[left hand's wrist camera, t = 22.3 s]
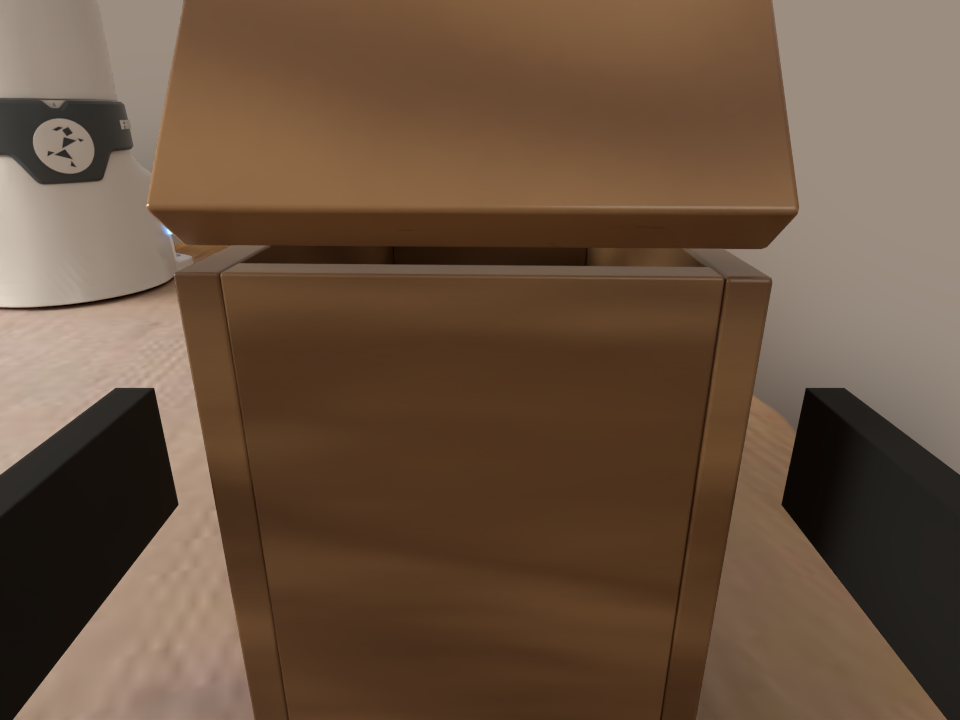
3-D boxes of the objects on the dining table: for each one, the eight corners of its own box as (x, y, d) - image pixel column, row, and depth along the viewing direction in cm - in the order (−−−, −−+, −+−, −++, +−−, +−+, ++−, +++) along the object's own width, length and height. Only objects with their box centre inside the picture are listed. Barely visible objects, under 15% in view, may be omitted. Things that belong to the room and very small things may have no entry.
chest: (389, 434, 28) (373, 176, 24) (589, 437, 28) (608, 177, 24) (264, 780, 13) (171, 272, 9) (684, 795, 13) (775, 278, 9)
